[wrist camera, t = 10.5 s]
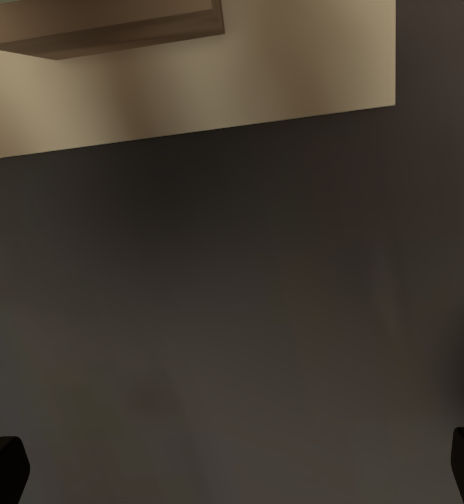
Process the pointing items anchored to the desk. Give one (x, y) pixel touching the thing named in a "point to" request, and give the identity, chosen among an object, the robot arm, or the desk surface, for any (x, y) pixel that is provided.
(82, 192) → the desk surface
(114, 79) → the base plate
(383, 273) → the desk surface
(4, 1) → the sage block
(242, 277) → the desk surface
